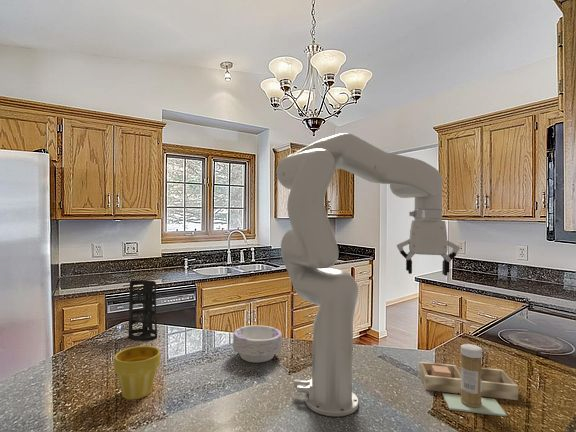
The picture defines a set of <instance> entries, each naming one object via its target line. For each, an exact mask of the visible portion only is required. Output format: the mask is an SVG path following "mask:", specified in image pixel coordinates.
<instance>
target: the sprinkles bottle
mask: <svg viewBox="0 0 576 432" xmlns="http://www.w3.org/2000/svg"><path fill="white" fill-rule="evenodd" d="M460 356H461V359H460V361H461V364H460V373H461V394H460V395H461V402H462V403H463V404H465V405H467V406H470V407H475V408H476V407H480V406H481V405H482V402H481V398H482V396H481V391H482V379H481V368H482V358H483V348H482V347H481V346H478V345H476V344H471V343H463V344H461V345H460Z"/></svg>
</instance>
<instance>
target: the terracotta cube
mask: <svg viewBox="0 0 576 432" xmlns="http://www.w3.org/2000/svg"><path fill="white" fill-rule="evenodd" d="M431 376H440V377H450V378H451V372H450V371H449V369H448V367H444V366H434V365H432V374H431Z"/></svg>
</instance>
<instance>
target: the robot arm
mask: <svg viewBox="0 0 576 432" xmlns="http://www.w3.org/2000/svg"><path fill="white" fill-rule="evenodd" d="M336 170H344V171H346V172H348V173H350V174H353V175H355V176H357V177H359V178H362V179H364V180H365V181H368V182H370V183H374V184H375V183H376V184H381V185H382V184H383V185H389V188H390V190H391V192H392V194H393V195H394V196H396V197H398V198H401V199H410V198H414V210H413V211H409V217H412V218H413V219H412V220H411V224H410V229H409V238H408V239H405V240H404V241H402V242H399V243H398V244H396V247H397V249H398V251H399V253H400V254H401V255H402V257H404V259H406V260H405V270H406V271H407V273H408V274H410V275H411V274H412V273H413V260H412V257H414V256H415V255H425V256H426V255H427V256H441V257H442V258H443V260H442V269H441V270H442V275H444V276H448V273H450V263H451V261H452V260H453V259H454V258H455V257H456V256H457V254H458V253H459V251H460V249H461V247H460V246H459V245H457V244H455V243H454V242H452V241H449V240H448V232H447V225H446V221H445V220H443V185H444V180H443V177H442V174H441V173H440V171H439V170H438V169H437V168H436V167H434V166H432V165H431V164H430V163H427V162H425V161H423V160H421V159H419V158H414V157H409V156H405V155H401V154H396V153H391V152H387V151H384V150H383V149H380V148H378V147H377V146H375V145H373V144H371V143H369V142H367V141H366V140H363V139H362V138H360V137H358V136H356V135H355V134H352V133H349V132H343V133H338V134H334V135H331V136H328V137H325V138H322V139H319V140H317V141H315V142H313V143H311V144H309V145H307V146H305V147H303V148H301V149H299V150H297V151H295V152H293V153H291V154H289V155H287V156H285V157H282V159H281V160H280V162H279V163H278V165H277V168H276V177H277V180H278V182H279V183H280V185H281V186H283V187H284V188H285V189H288V190H290V192H289V193H288V194H289V195H288V198H287V203H286V204H287V205H286V206H287V208H286V209H287V210H286V211H287V215H288V218H289V222H290V226H291V228H290V229H289V230H287V231H286V232H285V233H284V235H283V237H282V238H281V242H280V254H281V258H282V261H283V263H284V266H285V268H286V271H287V273H288V276H289V279H290V281H291V284H292V287H293V288H294V290H295V292H296V294H297V295H298V297H299V298H301V300H304V301H305V302H307V303H311V304H313V305H315V306H318V310H317V313H316V315H315V317H314V320H313V325H312V353H311V354H312V355H311V356H312V359H311V360H312V361H311V367H312V368H311V369H312V370H311V379H307V380H303V379H296V378H294V380H293V388H294V389H295V388H296V393H305V395H304V401H305V405H306V406H307V407H308V409H310V410H311V411H313V412H314V413H316V414H320V415H322V416H323V415H324V416H326V417H334V418H335V417H346V416H348V415H351V414H353V413H355V412H356V411H357V410H358V408H359V401H360V400H359V397H358V396H357V395H356V394H355V393H354V392H353V357H354V356H353V355H354V354H353V353H354V318H355V311H356V306H357V302H358V298H359V286H358V283H357V281H356V279H355V278H354V276H352V275H351V274H350V273H348V272H347V271H344V270H341V269H338V268H332V267H333V266H334V265H335V264H336V263H337V262H338V259H339V246H338V244H337V240H336V237H335V235H334V232H333V229H332V226H331V223H330V219H329V217H328V213H327V208H326V205H325V203H326V202H325V200H326V194H327V191H328V189H329V188H328V187H329V186H330V184H331V182H332V180H333V178H334V176H335V173H336ZM406 246H408V249H409V251H408V253H407V252H405V250H404V247H406ZM448 247H449V248H451V249H452V251H451V252H450V253H448ZM447 253H448V254H447Z"/></svg>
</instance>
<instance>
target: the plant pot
mask: <svg viewBox="0 0 576 432" xmlns="http://www.w3.org/2000/svg"><path fill="white" fill-rule="evenodd" d="M160 364H161V350H160V349H159V347H156V346H153V345H139V346H132V347H128V348H125V349H122V350H120V351H119V352H118V351H117V353H116V354H115V355H114V358H113V365H114V366H113V369H114V370H113V371H114V372H115V374H117V378H118V382H119V385H120V387H119V388H120V391H121V392H120V393H121V396H122V397H123V398H124V399H126V400H130V401H131V400H138V399H142V398H145V397H147V396H149V394H151V393H152V390H153V386H154V381H155V377H156V374H157V369H158V368H159V366H160Z"/></svg>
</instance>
